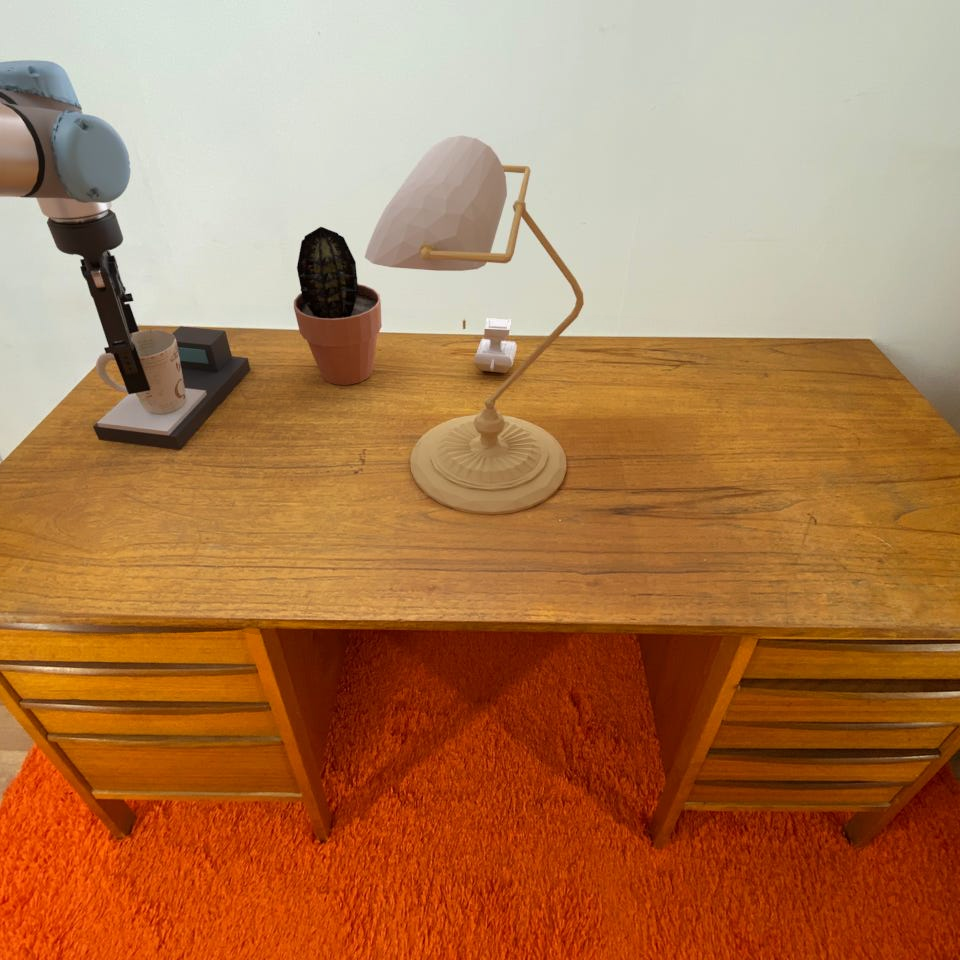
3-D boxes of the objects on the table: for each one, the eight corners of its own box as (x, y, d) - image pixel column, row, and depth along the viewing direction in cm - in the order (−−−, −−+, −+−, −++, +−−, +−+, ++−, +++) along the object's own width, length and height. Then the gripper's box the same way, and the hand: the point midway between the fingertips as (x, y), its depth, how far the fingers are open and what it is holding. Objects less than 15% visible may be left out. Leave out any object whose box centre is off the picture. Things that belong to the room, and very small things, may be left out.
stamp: (480, 353, 115) (481, 309, 110) (517, 356, 115) (519, 312, 109) (472, 378, 109) (472, 333, 103) (510, 382, 108) (513, 337, 102)
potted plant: (403, 366, 111) (392, 220, 95) (349, 402, 103) (328, 247, 86) (344, 345, 117) (325, 202, 101) (289, 377, 108) (258, 227, 92)
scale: (180, 450, 92) (164, 407, 88) (98, 439, 94) (78, 397, 89) (250, 370, 110) (241, 330, 105) (180, 362, 111) (168, 323, 107)
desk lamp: (425, 396, 104) (412, 120, 78) (567, 407, 102) (601, 128, 76) (381, 528, 81) (341, 196, 55) (564, 545, 79) (612, 210, 53)
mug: (183, 419, 93) (162, 358, 86) (96, 418, 93) (68, 357, 86) (202, 388, 99) (183, 329, 93) (120, 388, 99) (96, 329, 92)
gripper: (117, 242, 70) (173, 406, 83) (111, 183, 87) (157, 326, 101) (39, 252, 67) (110, 419, 81) (48, 189, 85) (105, 335, 98)
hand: (136, 368), depth 91 cm, fingers open, 13 cm apart
